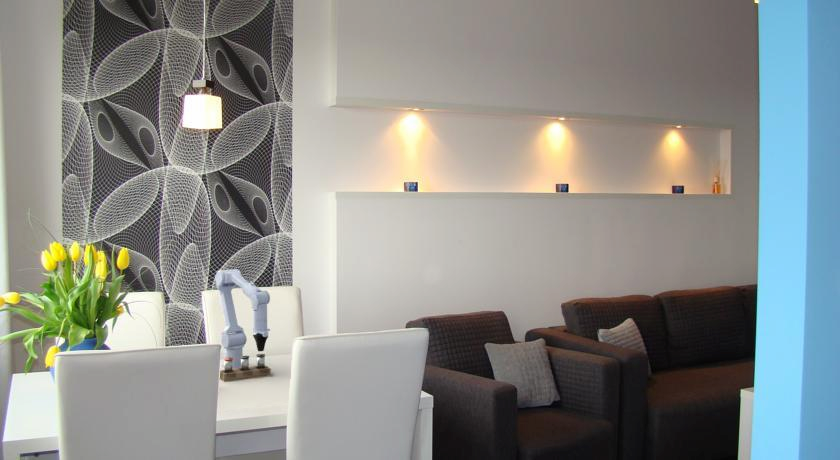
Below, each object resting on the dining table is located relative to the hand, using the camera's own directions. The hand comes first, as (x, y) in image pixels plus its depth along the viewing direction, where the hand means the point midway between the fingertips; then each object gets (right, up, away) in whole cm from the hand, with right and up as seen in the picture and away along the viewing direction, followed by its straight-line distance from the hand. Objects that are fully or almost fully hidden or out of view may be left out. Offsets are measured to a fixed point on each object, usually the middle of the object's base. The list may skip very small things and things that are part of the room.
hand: (260, 351), depth 313 cm
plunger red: (-12, -8, -7) cm, 16 cm away
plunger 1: (-6, -7, -3) cm, 10 cm away
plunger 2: (0, -7, 0) cm, 7 cm away
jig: (-6, -10, -3) cm, 12 cm away
